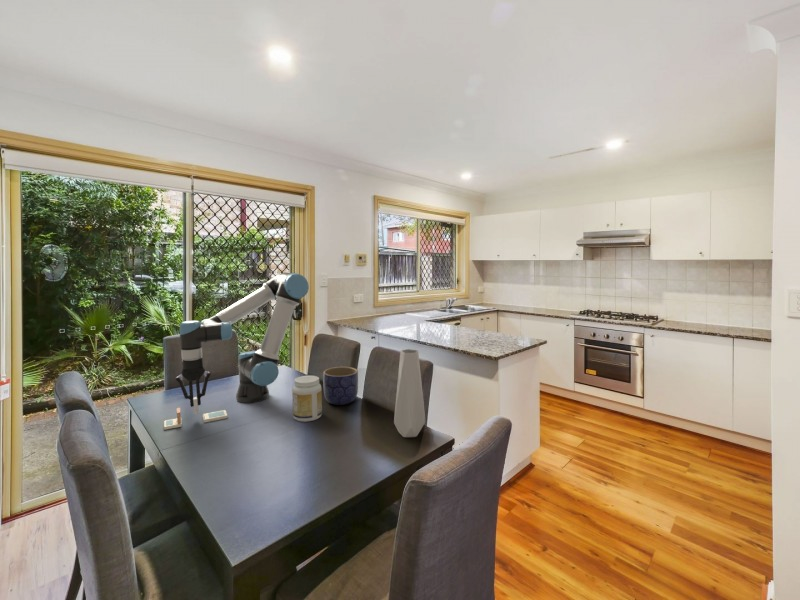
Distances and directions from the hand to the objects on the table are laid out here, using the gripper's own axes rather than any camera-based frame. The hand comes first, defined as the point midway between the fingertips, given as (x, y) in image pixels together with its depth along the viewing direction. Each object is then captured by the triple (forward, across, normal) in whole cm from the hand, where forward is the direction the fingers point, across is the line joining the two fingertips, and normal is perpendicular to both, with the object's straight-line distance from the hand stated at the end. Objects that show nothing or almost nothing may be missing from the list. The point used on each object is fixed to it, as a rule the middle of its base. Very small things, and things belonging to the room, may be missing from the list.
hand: (196, 413), depth 157 cm
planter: (+5, -61, +10) cm, 62 cm away
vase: (+5, -70, +56) cm, 90 cm away
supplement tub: (+4, -41, +20) cm, 46 cm away
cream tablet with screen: (+4, -7, 0) cm, 8 cm away
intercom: (+3, +9, 0) cm, 9 cm away
